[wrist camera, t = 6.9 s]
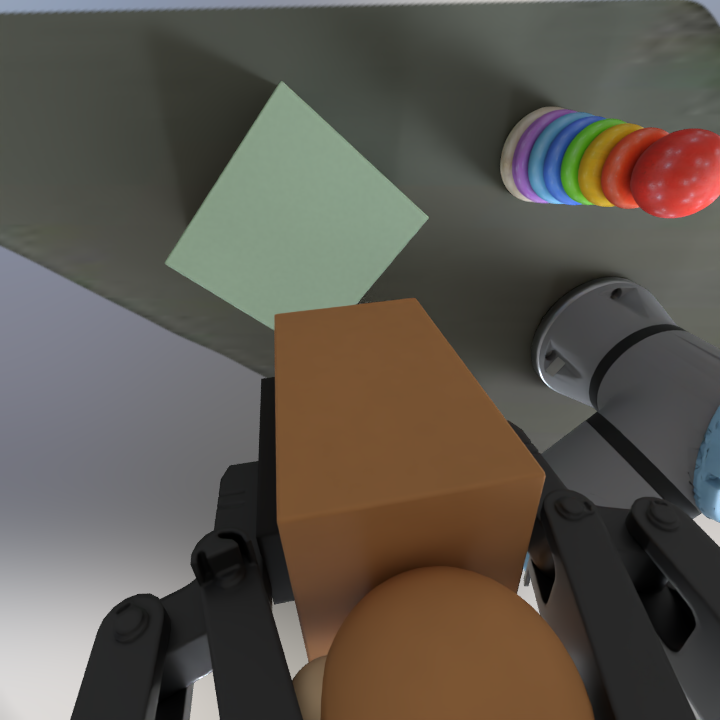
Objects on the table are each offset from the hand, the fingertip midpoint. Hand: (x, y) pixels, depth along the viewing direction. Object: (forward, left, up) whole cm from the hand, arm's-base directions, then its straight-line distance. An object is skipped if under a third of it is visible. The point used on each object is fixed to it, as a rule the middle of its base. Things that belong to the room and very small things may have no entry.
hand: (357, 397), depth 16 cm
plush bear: (0, 0, -1) cm, 1 cm away
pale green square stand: (+1, 0, -28) cm, 28 cm away
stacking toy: (-14, -18, -28) cm, 36 cm away
